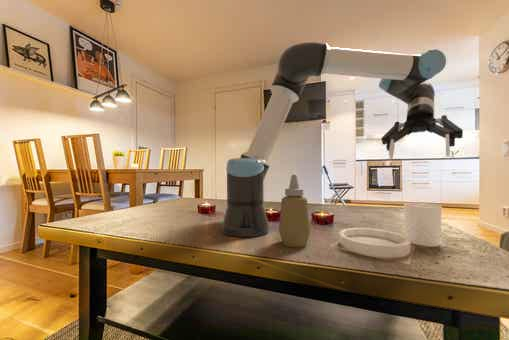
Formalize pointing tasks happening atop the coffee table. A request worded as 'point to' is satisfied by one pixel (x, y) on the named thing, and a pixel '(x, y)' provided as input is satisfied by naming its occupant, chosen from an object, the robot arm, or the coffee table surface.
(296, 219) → the squeeze bottle
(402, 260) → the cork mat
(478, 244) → the coffee table surface
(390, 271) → the coffee table surface
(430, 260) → the coffee table surface
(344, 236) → the dish
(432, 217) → the white cup
